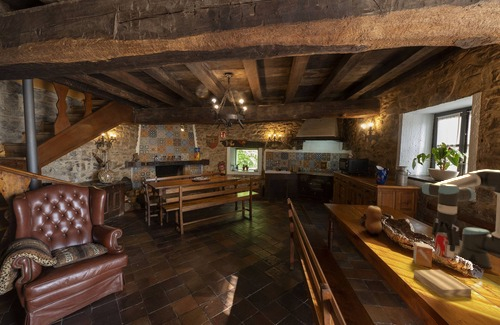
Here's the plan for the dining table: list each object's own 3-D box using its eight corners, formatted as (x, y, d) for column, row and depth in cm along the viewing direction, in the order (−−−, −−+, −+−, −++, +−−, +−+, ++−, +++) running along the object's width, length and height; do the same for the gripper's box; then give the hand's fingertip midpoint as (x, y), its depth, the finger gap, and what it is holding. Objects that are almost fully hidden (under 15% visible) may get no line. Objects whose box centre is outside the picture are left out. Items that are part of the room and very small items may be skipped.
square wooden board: (439, 276, 115) (439, 269, 115) (470, 296, 99) (471, 288, 99) (414, 276, 115) (414, 270, 114) (442, 297, 99) (442, 289, 98)
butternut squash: (385, 236, 169) (386, 208, 168) (369, 236, 170) (371, 208, 168) (375, 229, 183) (376, 204, 182) (361, 229, 184) (362, 204, 182)
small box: (415, 264, 127) (416, 245, 126) (413, 259, 133) (414, 241, 132) (431, 268, 123) (432, 248, 122) (428, 263, 129) (429, 244, 128)
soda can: (433, 252, 111) (435, 230, 110) (451, 256, 106) (453, 234, 106) (435, 257, 106) (436, 234, 105) (453, 262, 101) (455, 238, 100)
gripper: (424, 206, 115) (422, 243, 116) (456, 218, 95) (452, 262, 96) (438, 207, 114) (435, 244, 115) (473, 219, 94) (469, 263, 95)
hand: (443, 252), depth 106 cm, fingers closed on soda can, 7 cm apart
